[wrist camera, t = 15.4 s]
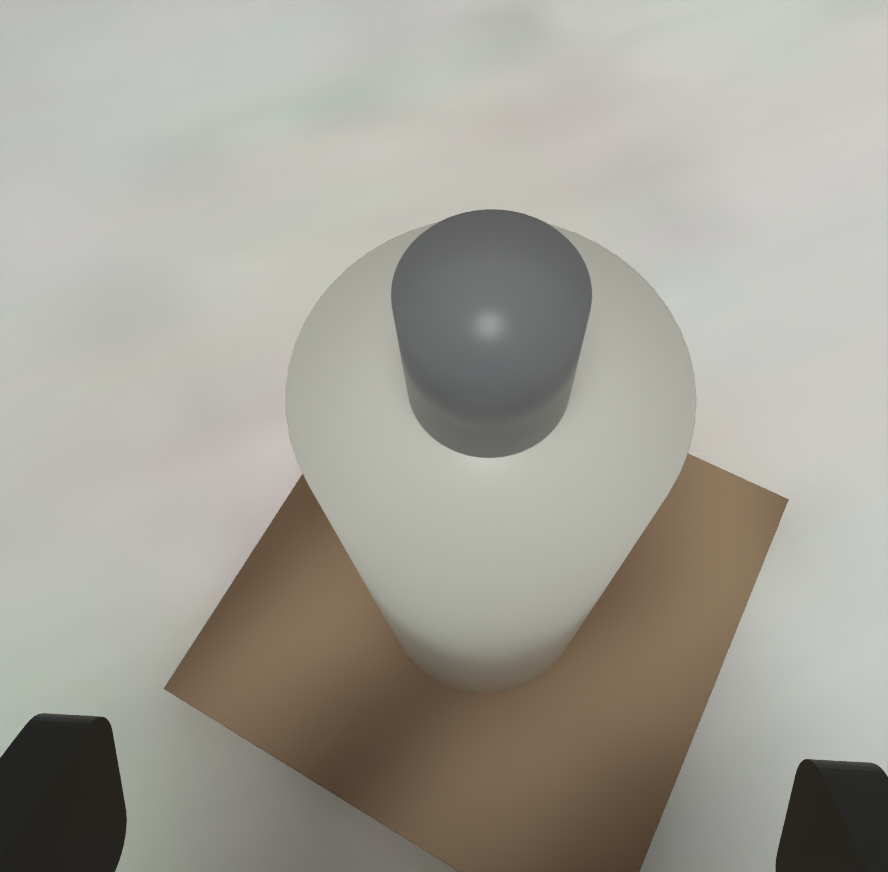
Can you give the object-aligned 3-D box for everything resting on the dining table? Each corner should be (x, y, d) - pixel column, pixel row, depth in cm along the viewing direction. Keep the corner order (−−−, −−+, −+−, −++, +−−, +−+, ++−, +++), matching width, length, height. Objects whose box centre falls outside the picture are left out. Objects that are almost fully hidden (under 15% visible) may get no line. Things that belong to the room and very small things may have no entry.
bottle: (350, 632, 21) (140, 384, 8) (445, 471, 22) (401, 45, 9) (526, 732, 19) (618, 635, 7) (611, 555, 21) (820, 203, 8)
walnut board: (177, 692, 21) (163, 688, 20) (403, 339, 25) (400, 322, 24) (597, 951, 18) (603, 961, 18) (775, 511, 22) (788, 499, 22)
